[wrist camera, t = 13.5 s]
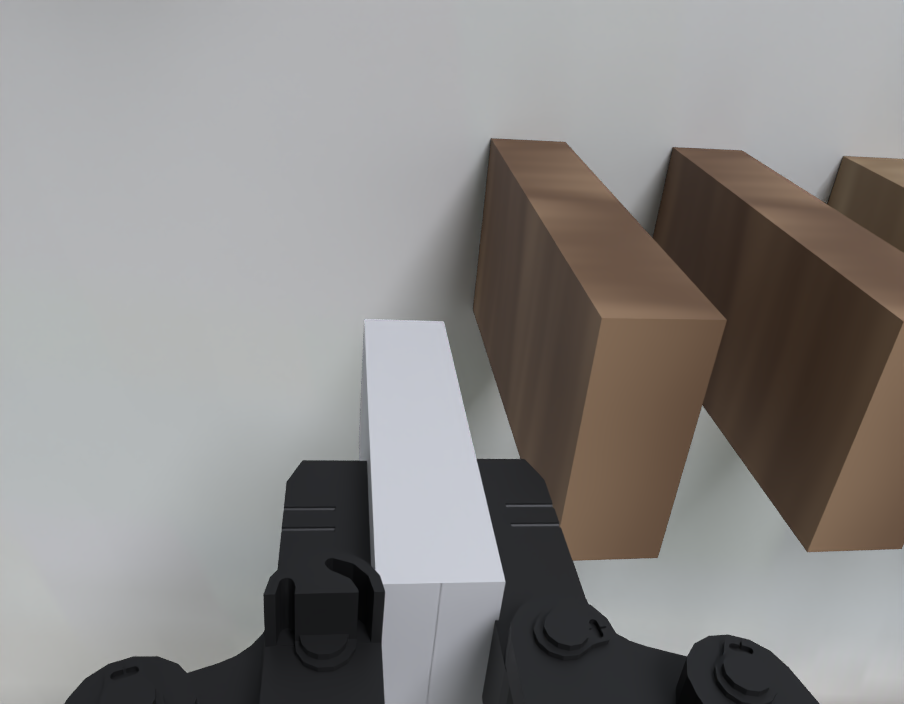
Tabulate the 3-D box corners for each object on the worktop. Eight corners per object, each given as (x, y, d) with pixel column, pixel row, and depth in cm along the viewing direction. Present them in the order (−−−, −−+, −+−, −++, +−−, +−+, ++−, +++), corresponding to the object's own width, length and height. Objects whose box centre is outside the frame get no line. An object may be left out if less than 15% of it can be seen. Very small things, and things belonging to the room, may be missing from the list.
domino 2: (636, 311, 23) (807, 552, 15) (672, 146, 21) (903, 321, 12) (698, 313, 24) (901, 549, 15) (742, 150, 21) (1014, 323, 13)
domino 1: (472, 309, 23) (553, 561, 14) (491, 138, 20) (602, 317, 12) (539, 310, 23) (658, 557, 14) (565, 142, 20) (727, 319, 12)
